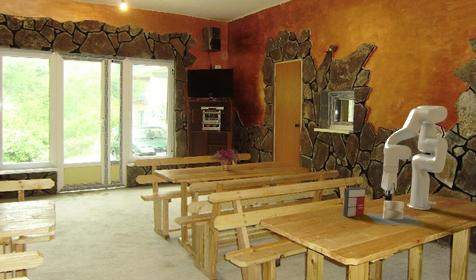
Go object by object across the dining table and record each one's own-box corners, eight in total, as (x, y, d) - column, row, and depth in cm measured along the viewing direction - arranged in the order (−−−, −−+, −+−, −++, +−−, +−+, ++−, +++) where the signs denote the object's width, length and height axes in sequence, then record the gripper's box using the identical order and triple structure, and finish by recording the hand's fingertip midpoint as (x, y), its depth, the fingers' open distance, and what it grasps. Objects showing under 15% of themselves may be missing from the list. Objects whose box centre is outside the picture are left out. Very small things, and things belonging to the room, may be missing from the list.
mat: (408, 216, 225) (408, 214, 225) (425, 227, 207) (425, 225, 206) (364, 214, 225) (364, 213, 225) (377, 225, 206) (377, 223, 206)
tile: (401, 218, 218) (402, 201, 217) (402, 219, 216) (404, 202, 215) (382, 217, 218) (383, 200, 217) (383, 218, 216) (385, 201, 215)
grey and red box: (347, 217, 218) (349, 189, 216) (342, 215, 222) (344, 187, 220) (364, 216, 222) (366, 188, 220) (359, 214, 226) (361, 187, 224)
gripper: (378, 166, 230) (376, 199, 231) (388, 171, 215) (386, 206, 216) (392, 167, 230) (389, 199, 231) (403, 171, 215) (400, 206, 217)
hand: (387, 202), depth 224 cm, fingers closed
